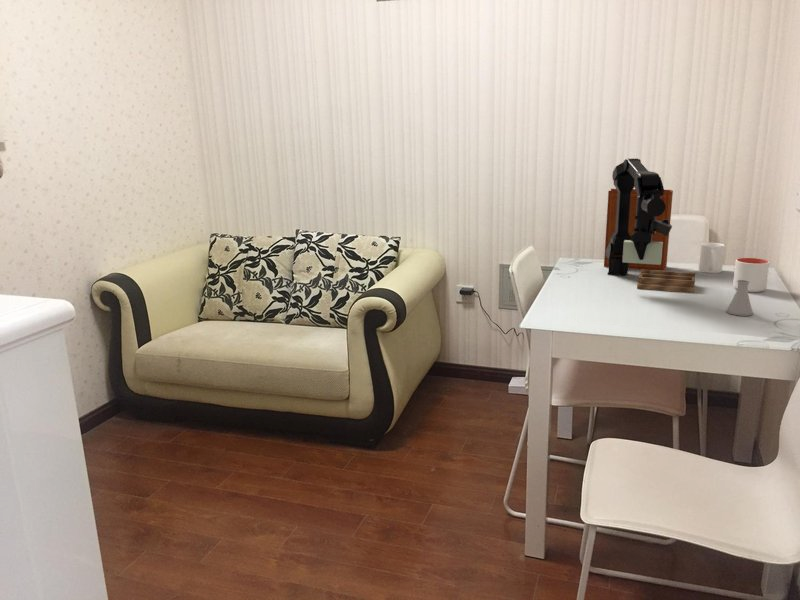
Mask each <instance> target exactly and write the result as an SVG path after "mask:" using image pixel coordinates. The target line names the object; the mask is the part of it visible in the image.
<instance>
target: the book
mask: <svg viewBox="0 0 800 600" xmlns="http://www.w3.org/2000/svg"><path fill="white" fill-rule="evenodd" d="M673 193H674V190H672V189H664V192H663V195H662V196H660V199H662V200H663V201H664V203H665V206H666V208H665V211H664V212H663V213H662V214H661V215H659V216H656V220H660V221H662V220H664V219H667V220H669V224H670V225H671V219H672V218H671V217H672V205H673ZM607 194H608V196H607V208H606V209H607V210H606V211H607V213H606V223H605V224H606V227H605V243H604V257H603V268H609V259H608V258H607V257H606V249H607V247H608V244H609V243H610V238H611V236H612V235H613V233H614V232H615V227H616V211H617V194H618V191H617V189H616V188H610V190H608V193H607ZM636 208H637V193H636V190H635V188H633V190H632V191H631V198H630V213H629V228H628V232H629V234H630V236H631V235H632V234H633V233H634V232H635V231H634V228H635V221H636V219H635V216H636ZM651 234H652V236H654V238H653V239H652V242H663V246H662V258H661V264H660V265H656V264H640V263H629V267H628V270H630V269H631V270H641V269H645V270H660V271H667V265H668V255H669V254H668V252H669V242H670V241H669V239H670V233H669V234H668V236H665V235H663V234H661V233H659V232H656V231H655V234H653V233H651ZM611 255H612V254H611Z"/></svg>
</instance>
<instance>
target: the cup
mask: <svg viewBox="0 0 800 600" xmlns="http://www.w3.org/2000/svg"><path fill="white" fill-rule="evenodd" d="M769 267H770V261H769V260H766V259H764V258H763V259H762V258H756V257H755V258H754V257H739V258H736V259H735V264H734V274H733V281H732V282H733V283H732V285H733V288H734V289H735V290H737V288H738V282H737V280H748V281H749V284H748V293H761V292H764V291H766V289H767V284H768V283H767V282H768V277H769V276H768V275H769V270H770V269H769Z"/></svg>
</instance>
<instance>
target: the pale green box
mask: <svg viewBox="0 0 800 600" xmlns="http://www.w3.org/2000/svg"><path fill="white" fill-rule="evenodd" d="M662 246H663V242H651V243H649V244H648V245H647V247H646V251H645V255H644V258H643V260H640V259H639V257H638V254H637V251H636V248H635V246H634V243H633V241H631V240H625V241H624V246H623V260H622V262H624V263H640V264H656V265H660V264H661V258H662Z"/></svg>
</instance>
